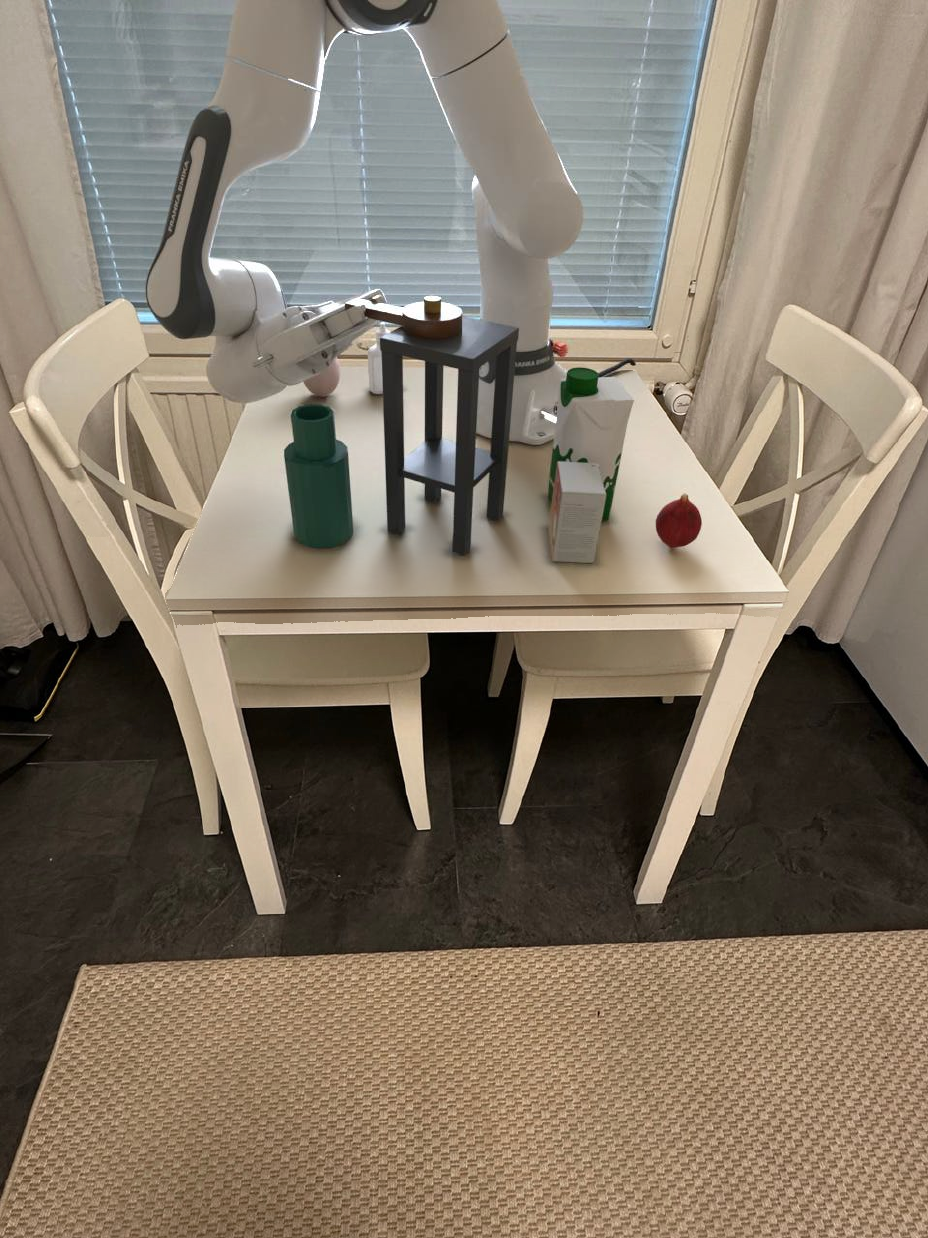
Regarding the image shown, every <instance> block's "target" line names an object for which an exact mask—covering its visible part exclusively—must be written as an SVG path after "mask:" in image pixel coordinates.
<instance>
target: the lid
mask: <svg viewBox="0 0 928 1238" xmlns="http://www.w3.org/2000/svg"><path fill="white" fill-rule="evenodd" d="M361 303H363V304H365V306H366V310H367V311H368V313H369V317H368V318H370V319H374V320H379V321H382V323H388V324H392V325H397V326H400V327H401V326H402V328H403V330H404V332H406V333H407V334H409V335H412V336H415V337H419V338H426V339H442V338H449V337H453V336H456V335H458V334H459V333H461V331H462V318H463V316H464V312H463V309H462V308H461V307H459V306H457V305H455V304H452V303H448V302H442V298H441V297H440V296H436V295H427V296H425V297H423V301H419V302H418V301H417V302H414V303H410V304H406V305H405V306H404V307H401V306H397V305H390V304H388V305H387V304H382V303H377V302H373V301H368V300H363V299H358V298H355V299H353V300H351V301H349V302H346V303H345V311H346V310H348V309H350V308H352V307H354V306H356V305H358V304H361Z"/></svg>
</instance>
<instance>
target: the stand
mask: <svg viewBox="0 0 928 1238" xmlns="http://www.w3.org/2000/svg"><path fill="white" fill-rule="evenodd" d="M518 335H519V328H517V327H512V326H507V325H503V324H498V323H493V322H488V321H484V320H480V318H479V319H478V318H474V317H469V316H464V315H463V318H462V331H461V333H459V334H458V335H456V336H453V337H449V338H442V339H426V338H419V337H415V336H412V335H409V334H407V333H406V332H404V330H403V328H402V326H401V325H400V326H399V327H397V328H396V329H393V330H391V331H390V333H388V334H386V335H384V336H382V337H380V350H381V354H382V384H383V394H382V404H383V405H382V409H383V410H382V411H383V438H384V439H383V440H384V441H383V442H384V469H385V472H384V473H385V498H386V525H387V527H386V528H387V530H386V531H388V532H389V533H393V534H396V535H400V534H401V533H402V532H403V531H404V530H405V529H406V486H405V483H406V482H405V481H406V479H407V480H410V481H414V482H417V483H421V484H424V497H423V498H424V499H425V500H429V501H431V502H436V501H437V500H439V499H440V498H441V497H442V490H443V491H448V492H450V493H453V520H452V521H453V522H452V523H453V524H452V550H451V551H452V553H453V554H456V555H460V556H463V557H464V556H465V557H466V555H467V554H468V553H469V552H470V551H471V544H472V524H473V506H474V504H473V503H474V488H475V487H476V486H477V485H478V484H479V483H480V482H481V481H482V480H483V479H484V478H485V477H486V476H487V475H488V485H487V499H486V500H487V501H486V516H485V517H486V518H487V519H490V520H493V521H497V522H498V521H499V520H500V519H501V518H502V517H503V516H504V508H505V495H506V486H507V485H506V483H507V470H508V459H509V445H510V441H509V435H510V422H511V410H512V398H513V385H514V373H515V360H516V348H517V341H518ZM495 356H497V358H496V373H495V389H494V405H493V420H492V436H491V438H490V450H486V449H482V448H479V447H476V443H477V433H476V427H477V407H478V386H479V368H480V367H481V366H482V365H484V364H485V363H487V362H488V361H490V360H491V359H492V358H494V357H495ZM404 357H405V358H406V357H407V358H411V359H414V360H418V361H423V362H424V441H423V442H422V443H421V444H420V445H418V447H416V448H415V449H413V450H412V451H411V452H410V453H408V454H407V455H406V456H405V426H404V425H405V422H404V421H405V417H404V362H403V360H404ZM444 367H449V368H451V369H455V370H457V395H456V396H457V397H456V399H457V400H456V423H455V424H456V427H455V429H456V430H455V441H453V440H450V439H446V438H443V418H444V417H443V412H444V411H443V409H444Z"/></svg>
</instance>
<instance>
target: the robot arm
mask: <svg viewBox="0 0 928 1238" xmlns="http://www.w3.org/2000/svg"><path fill="white" fill-rule="evenodd" d="M234 4H235V5H234V8H233V13H232V17H231V22H230V28H229V34H228V39H227V45H226V54H225V56H226V57H225V60H224V67H223V72H222V76H221V80H220V82H219V84H218V88H217V90H216V93H215V94H214V96H213V98H212V100H211V102H210V103H209V104H208V106H207V107H206V108H204V109H202V110H200V111H199V112H198V113H197V115H196V116H195V117H194V120H193V121H192V124H191V126H190V129H189V132H188V134H187V138H186V141H185V145H184V149H183V151H182V156H181V159H180V164H179V168H178V172H177V176H176V180H175V184H174V188H173V192H172V197H171V200H170V205H169V208H168V213H167V217H166V221H165V224H164V229H163V234H162V237H161V241H160V243H159V247H158V249H157V252H156V253H155V256H154V258H153V260H152V263H151V265H150V268H149V270H148V273H147V276H146V281H145V298H146V303H147V307H148V308H149V311H150V312H151V313H152V315H153V316H154V318H155V320H156V321H157V322H158V323H159V324H160V325H161V327H162V328H163V329H164V330H166V331H167V332H168V333H169V334H171V336H174V337H175V338H177V339H180V340H190V339H191V340H192V339H201V338H202V339H203V338H207V337H215V339H214V340H215V341H214V346H213V350H212V353H211V355H210V357H209V358H208V360H207V362H206V365H205V374H206V378H207V380H208V382H209V384H210V386H211V387H212V389H213V390H214V391H215V392H216V393H217V394H219V396H221V397H222V398H224V399H226V400H228V401H230V402H232V403H238V404H251V403H254V402H258V401H261V400H265V399H267V398H270V397H273V396H274V395H275V396H276V395H277V394H279V393H280V392H283V390H285V389H286V388H287V387H289V386H290V387H291V386H295V385H296V386H297V385H298V384H301V383H304V382H303V381H305V380H307V379H310V378H312V377H314V376H316V375H318V374H320V373H322V372H324V371H325V370H326V369H327V368H328V366H329V365H330V364H331V363H332V362H333V360H334V359H335V358H336V357H337V358H338V357H339V356H340V355H341V354H342V353H343V352H345V351H347V350H348V349H349V348H351V347H352V346H353V345H354V344H353V342H354V341H355V340H357V339H358V338H359V337H361V336H363V335H364V334H366V333H367V332H369V331H370V330H371V329H373V328H375V327H377V326H378V325H379V324H381V323H383V321H379V320H374V319H370V318H368V317H369V313H368V311H367V310H366V306H365V304H363V303H361V304H358V305H356V306H354V307H352V308H350V309H348V310H346V311H345V303H346V302H349V301H351V300H353V299H355V298H358V299H363V300H368V301H373V302H377V303H382V304H387V305H389V303H388V301H387V298H386V296H385V294H384V292H383V291H382V290H381V289H380V288H375V289H371V290H370V289H369V290H368V291H364V292H362V293H358V294H356V295H353V296H351V297H348V298H345V299H342V300H339V301H336V302H334V301H333V300H329V301H327V302H326V301H324V302H321V303H318V304H314V305H302V306H300V305H299V306H298V305H293V306H289V307H288V303H287V299H286V296H285V295H286V294H285V293H284V290H283V286H282V285H281V282H280V281H279V279H278V277H277V275H276V274H275V273H274V272H273V271H272V269H271V268H270V267H268V266H267V265H266V264H264V263H262V262H256V261H250V260H243V259H235V258H221V257H211V256H210V255H211V251H212V247H213V244H214V240H215V236H216V232H217V229H218V225H219V222H220V221H219V220H220V216H221V214H222V210H223V207H224V206H223V205H224V201H225V199H226V196H227V194H228V192H229V190H230V188H231V187H232V185H234V184H235V182H236V181H237V180H238V179H240V178H241V177H243V176H244V175H246V174H247V173H250V172H252V171H255V170H256V169H259V168H263V167H266V166H271V165H275V164H278V163H281V162H283V161H285V160H288V159H289V158H291V157H293V156H294V155H296V154H297V153H299V151H301V150H302V148H304V147H305V146H306V144H307V143H308V141H309V139H310V136H311V134H312V131H313V129H314V125H315V122H316V118H317V113H318V107H319V100H320V94H321V89H322V88H321V87H322V82H323V76H324V75H323V74H324V66H325V61H326V60H327V57H328V55H329V51H330V48H331V46H332V44H333V42H334V41H335V39H336V38H337V37H338V36H339V35H340V34H351V35H352V34H353V35H354V34H355V35H360V36H375V35H378V34H381V33H390V32H394V31H395V32H396V31H398V30H402V29H403V30H404V31H405V32H407V34H408V35H409V36H410V37H411V39H412V40H413V42H414V44H415V46H416V48H417V49H418V50H419V52H420V56H421V59H422V62H423V64H424V66H425V69H426V72H427V74H428V76H429V79H430V82H431V84H432V87H433V89H434V91H435V94H436V97H437V99H438V102H439V103H440V106H441V109H442V111H443V115H444V116H445V119H446V121H447V124H448V126H449V128H450V131H451V133H452V135H453V138H454V140H455V143H456V144H457V146H458V147H459V149H460V151H461V153H462V154H463V156H464V158H465V159H466V162H467V164H468V165H469V167H470V169H471V170H472V173H473V175H474V177H473V181H472V184H471V198H472V203H473V207H474V213H475V229H476V242H477V243H476V244H477V253H478V255H477V256H478V263H479V264H478V265H479V273H480V274H479V275H480V310H479V320H484V321H488V322H493V323H498V324H503V325H507V326H512V327H517V328H519V335H518V341H517V348H516V360H515V373H514V385H513V398H512V410H511V422H510V435H509V442H519V443H523V444H527V445H531V446H539V445H544V444H546V443H547V442H550V441H552V440H554V434H555V426H556V418H557V406H558V390H559V379H560V378H566V376H567V371H568V370H566V369H565V368H564V367H562V366H561V365H560V364H559V363H557V362H556V359H555V355H557V356H558V357H560V358H564V357H566V356H567V354H568V352H569V346H568V345H567V344H566V343H562V341H558V340H557V341H556V342H554V340H552V339H550V329H551V328H550V327H551V319H552V318H551V317H552V311H553V310H552V308H553V299H554V287H553V286H554V285H553V283H552V280H551V275H550V268H549V267H550V266H549V259H554V258H557V257H559V256H561V255H563V254H565V253H566V252H567V251H568V250H570V249H571V247H572V246H573V245H574V244H575V243H576V241H577V239H578V237H579V235H580V233H581V230H582V227H583V221H584V208H583V207H584V206H583V203H582V200H581V199H580V196H579V194H578V192H577V190H576V189H575V187H574V186H573V184H572V182H571V180H570V179H569V176H568V174H567V172H566V169H565V168H564V165H563V162H562V160H561V158H560V156H559V153H558V151H557V148H556V146H555V144H554V143H553V140H552V138H551V136H550V134H549V132H548V130H547V128H546V126H545V123H544V122H543V120H542V118H541V116H540V114H539V112H538V110H537V107H536V105H535V103H534V101H533V97H532V95H531V92H530V90H529V87H528V84H527V81H526V78H525V75H524V72H523V69H522V66H521V63H520V60H519V57H518V55H517V51H516V49H515V45H514V41H513V39H512V36H511V33H510V30H509V27H508V24H507V21H506V18H505V16H504V13H503V11H502V9H501V6H500V3H499V0H236V1H235V3H234ZM227 57H228V58H227ZM230 58H231V59H230ZM554 354H555V355H554ZM496 358H497V356H495V357H494V358H492V359H491V360H490V361H488V362H487V363H485V364H484V365H482V366H481V367H480V368H479V386H478V407H477V427H476V435H477V434H478V435H480V436H482V437H485V438H488V439H491V436H492V420H493V405H494V389H495V373H496ZM628 364H630V366H632V367H633V366H635V367H636V366H637V363H636V361H635V360H634V359H632V358H625V359H623V360H621V361H620V362H618V363H617V364H615V365H613V366H610V367H608V368H606V369H603V370H602V371H600V372H597V373H598V375H599V377H606V375H608V374H611V373H613V372H616V371H618V370H620V369H621V368H622V367H625V365H628Z"/></svg>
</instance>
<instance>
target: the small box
mask: <svg viewBox="0 0 928 1238" xmlns="http://www.w3.org/2000/svg"><path fill="white" fill-rule="evenodd" d="M605 500H606V492H605V489H604V485H603V480H602V476H601V471H600V464H598V463H580V462H560V461H558V462H557V467H556V475H555V482H554V489H553V496H552V504H551V503H550V512H549V517H548V518H549V520H548V527H547V529H548V535H549V546H550V553H551V555H550V556H551V562H560V563H561V562H562V563H564V562H565V563H581V564H594V562H595V558H596V552H597V547H598V541H599V536H600V531H601V526H602V521H603V520H602V516H603V511H604V505H605Z"/></svg>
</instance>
